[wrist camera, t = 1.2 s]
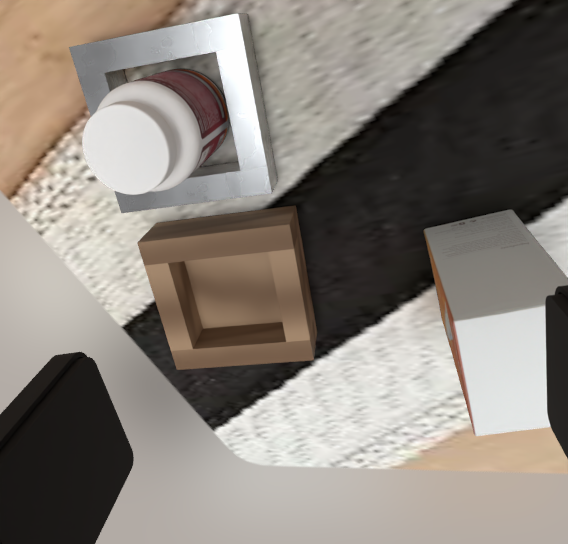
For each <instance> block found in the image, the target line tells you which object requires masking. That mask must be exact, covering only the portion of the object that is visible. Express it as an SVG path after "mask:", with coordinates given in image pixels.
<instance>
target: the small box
mask: <svg viewBox="0 0 568 544" xmlns="http://www.w3.org/2000/svg"><path fill="white" fill-rule="evenodd" d="M424 235H425V239H426V243H427V247H428V252H429V256H430V261H431V265H432V270H433V275H434V279H435V284H436V290H437V295H438V300H439V305H440V310H441V316H442V321H443V324H444V327H445V331H446V334H447V338H448V341H449V345H450V348H451V351H452V354H453V358H454V362H455V366H456V369H457V372H458V376H459V380H460V384H461V387H462V391H463V394H464V397H465V401H466V404H467V408H468V412H469V416H470V419H471V423H472V427H473V431H474V435H475V436H482V435H490V434H498V433H505V432H514V431H522V430H530V429H538V428H546V427H551V426H550V423H549V419H548V414H547V376H546V318H545V300H546V297H547V296H548V295H555V291H556V288H557V287H558V286H565V285H568V278H567V276H566V275H565V274H564V273H563V272H562V270H561V269H560V268H559V267H558V265H557V264H556V263H555V262H554V260H553V259H552V258H551V257H550V256H549V254H548V253H547V252H546V251H545V250H544V248H543V247H542V246H541V245H540V244H539V243H538V241H537V240H536V239H535V238H534V236H533V235H532V234H531V233H530V232H529V230H528V229H527V228H526V227H525V225H524V224H523V223H522V221H521V220H520V219H519V218H518V216H517V215H516V214H515V213H514V211H513V210H511V209H510V210H505V211H501V212H496V213H492V214H488V215H483V216H479V217H474V218H470V219H466V220H461V221H457V222H453V223H449V224H444V225H440V226H436V227H431V228H426V229H424Z"/></svg>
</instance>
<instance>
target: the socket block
mask: <svg viewBox="0 0 568 544" xmlns="http://www.w3.org/2000/svg"><path fill="white" fill-rule="evenodd" d="M69 49H70V52H71V55H72V58H73V61H74V65H75V68H76V71H77V74H78V77H79V80H80V84H81V87H82V90H83V93H84V96H85V99H86V102H87V106H88V109H89V112H90V115H91V116H92V115H93V114H94V113H95V112H96V111H97V109H98V107H99V105H100V103H101V102H102V100H103V99H104V98H105V97H106V95H107V94H108V93H110V92H111V91H112V90H113V89H115V88H117V87H119V86H121V85H123V84H126V83H127V80H126V77H125V73H124V69H126V68H132V67H137V66H142V65H148V64H153V63H158V62H164V61H169V60H174V59H180V58H185V57H190V56H196V55H201V54H206V53H211V52H216V55H217V60H218V65H219V69H220V74H221V79H222V84H223V89H224V93H225V98H226V103H227V108H228V113H229V117H230V122H231V127H232V132H233V136H234V141H235V146H236V151H237V156H238V160H239V162H232V163H225V164H218V165H211V166H205V167H198V168H197V169H196V170H195V171H194V172H193V173H192V174H191V175H190V176H189V177H188V178H187V179H185V180H184V181H183V182H182V183H180V184H179V185H177V186H175V187H173V188H170V189H167V190H163V191H155V192H152V191H149V192H146V193H143V194H137V195H129V194H123V193H120V192H117V191H115V194H116V197H117V200H118V203H119V206H120V210H121V213H126V212H134V211H141V210H149V209H157V208H164V207H172V206H179V205H187V204H194V203H202V202H209V201H217V200H224V199H232V198H239V197H247V196H255V195H262V194H270V193H272V192H273V190H274V188H275V186H276V184H277V182H278V179H277V174H276V168H275V163H274V157H273V152H272V146H271V141H270V135H269V129H268V124H267V118H266V113H265V107H264V102H263V96H262V91H261V85H260V80H259V74H258V68H257V63H256V57H255V52H254V46H253V41H252V35H251V30H250V24H249V18H248V14H241V13H237V14H232V15H227V16H222V17H217V18H212V19H207V20H202V21H197V22H192V23H187V24H182V25H177V26H172V27H167V28H162V29H157V30H152V31H147V32H142V33H137V34H132V35H127V36H122V37H117V38H113V39H108V40H103V41H98V42H93V43H88V44H83V45H78V46H73V47H69Z"/></svg>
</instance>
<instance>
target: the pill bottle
mask: <svg viewBox="0 0 568 544" xmlns="http://www.w3.org/2000/svg"><path fill="white" fill-rule="evenodd" d="M228 124H229V114H228V109H227V105H226V102H225V99H224V97H223V95H222V93H221V92H220V90H219V89H218V87H217V86H216V85H215V84H214V83H213V82H212V81H211V80H210V79H208V78H207V77H206V76H204V75H202V74H200V73H198V72H196V71H192V70H188V69H174V70H169V71H165V72H162V73H158V74H155V75H152V76H148V77H145V78H142V79H139V80H135V81H132V82H129V83H126V84H123V85H121V86H119V87H117V88H115V89H113V90H112V91H111V92H110V93H108V94H107V95H106V97H105V98H104V99H103V100H102V102H101V103H100V105H99V107H98V109H97V111H96V112H95V113H94V114H93V115H92V116H91V118H90V119H89V120H88V122H87V124H86V126H85V129H84V132H83V139H82V146H83V153H84V156H85V159H86V162H87V164H88V166H89V168H90V169H91V171H92V172H93V174H94V175H95V176H96V177H97V178H98V179H99V180H100V181H101V182H102V183H103V184H104V185H106V186H107V187H109V188H110V189H112V190H114V191H117V192H120V193H123V194H129V195H137V194H143V193H146V192H149V191H152V192H155V191H163V190H167V189H170V188H173V187H175V186H177V185H179V184H180V183H182V182H183V181H184V180H185V179H187V178H188V177H189V176H190V175H191V174H192V173H193V172H194V171H195V170H196V169H197V168H198V167H199V166H200V165H201V164H202V163H204V162H205V161H206V160H207V159H208V158H209V157H210V156H211V155H212V154H213V153H214V152H215V151H216V150H217V149H218V148H219V146H220V145H221V144H222V142H223V140H224V138H225V136H226V133H227V130H228Z"/></svg>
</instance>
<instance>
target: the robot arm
mask: <svg viewBox="0 0 568 544" xmlns="http://www.w3.org/2000/svg"><path fill="white" fill-rule="evenodd" d="M545 318H546V376H547V414H548V419H549V423H550V426H551V428H552V430H553V432H554V434H555V436H556V438H557V440H558V442H559V443H560V445H561V447H562V449H563V451H564V453H565V455H566V456H567V458H568V285H565V286H558V287H557V288H556V291H555V295H548V296H547V297H546V300H545ZM132 466H133V451H132V449H131V446H130V444H129V441H128V439H127V437H126V434H125V432H124V429H123V427H122V425H121V422H120V420H119V417H118V415H117V413H116V410H115V408H114V406H113V403H112V401H111V399H110V396H109V394H108V391H107V389H106V386H105V384H104V382H103V379H102V377H101V375H100V372H99V370H98V368H97V365H96V363H95V361H94V360H93V359H92V358H90V357H87V356H86V355H85V354H84V353H82V352H76V353H69V354H62V355H55V356H54V357H53V358H51V360H50V361H49V362H48V363H47V364H46V365H45V366H44V367H43V368H42V370H41V371H40V372H39V373H38V374H37V375H36V376H35V377H34V378H33V379H32V381H30V383H29V384H28V385H27V386H26V387H25V388H24V389H23V390H22V391H21V393H20V394H19V395H18V396H17V397H16V398H15V399H14V400H13V401H12V402H11V403H10V405H9V406H8V407H7V408H6V409H5V410H4V411H3V412H2V413H1V414H0V544H95V543H96V540H97V538H98V536H99V534H100V532H101V530H102V528H103V526H104V524H105V522H106V520H107V518H108V516H109V514H110V512H111V510H112V508H113V506H114V504H115V502H116V500H117V497H118V495H119V493H120V491H121V489H122V487H123V485H124V483H125V481H126V479H127V477H128V475H129V473H130V471H131V469H132Z"/></svg>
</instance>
